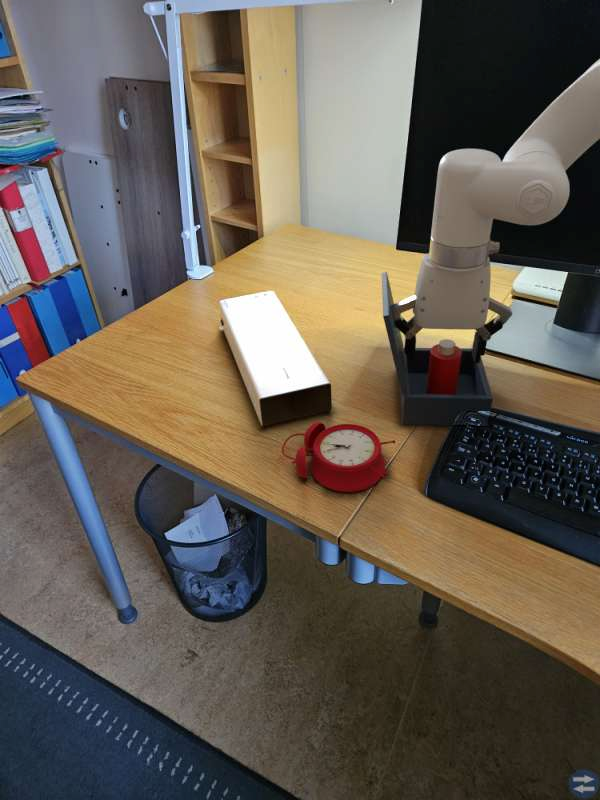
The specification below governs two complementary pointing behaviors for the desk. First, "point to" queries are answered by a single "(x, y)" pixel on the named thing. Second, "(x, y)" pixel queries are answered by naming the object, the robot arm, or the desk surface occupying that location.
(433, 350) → the ketchup bottle
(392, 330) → the bin lid
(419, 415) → the bin
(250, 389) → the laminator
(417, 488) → the desk surface
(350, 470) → the alarm clock
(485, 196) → the robot arm
